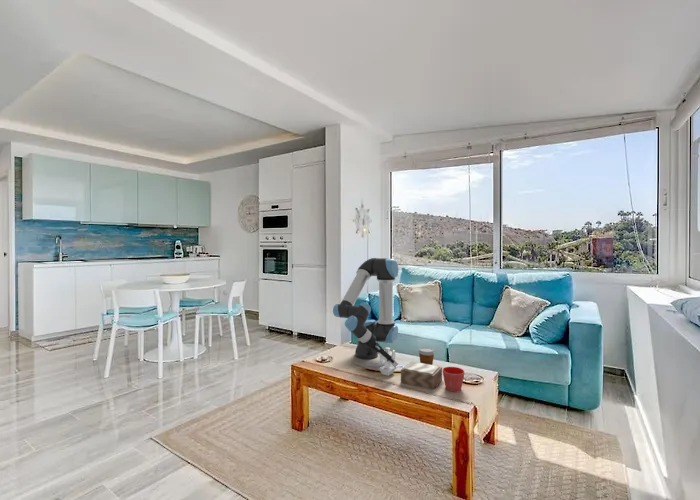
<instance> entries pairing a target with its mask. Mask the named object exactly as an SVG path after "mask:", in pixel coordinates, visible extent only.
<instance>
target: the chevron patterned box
mask: <svg viewBox="0 0 700 500" xmlns="http://www.w3.org/2000/svg"><path fill="white" fill-rule="evenodd" d="M442 381H443V367H442V366H440V365H434V364H433V365H429V364H424V363H420V362H417V361H410V362H409V363H407V364H406V365H405V366H404V367H402V368H401V369H400V383H403V384H407V385H412V386H415V387H416V386H417V387H421V388H426V389H430V390H435V389H436V387H437V386H438V385H439V384H440V383H441V382H442Z"/></svg>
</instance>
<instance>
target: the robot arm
mask: <svg viewBox="0 0 700 500" xmlns="http://www.w3.org/2000/svg"><path fill="white" fill-rule="evenodd" d="M355 273H356V275H355V276H354V278H353V280H352V282H351V283H350V286H349V287H348V290H347V292H346V293H345V295H344V296H343V298H342V300H341V302H339V303H337V304H335V305H333V308H332V313H333V315H334V317H336V318H342V319H343V318H344V319H346V320H345V321H344V327H346V329H347V330H348V331H349V332H350V333H351V334H352V335H353V336H354V337H355V338H357V345H356V347H355V351H354V356H355V357H356V358H359V359H362V360H363V359H364V360H365V359H366V360H367V359H369V360H370V359H375V358H377V357H378V355H379V356H380V354H382V355H383V356H384V357H385V358H386V359H387V362H388V361H389V362H390V365H391V366H393V367H396V368H397V367H398V365H399V363H398V362H397V361H396V360H395V359H393V358H392V356H390V355H389V354H388V353H387V352H386V351H385V348H383V347H382V346H381V345H380V344H379V343H384V344H393V343H395V341H396V340H397V339H398V338H397V337H398V335H399V327H398V326H397V324H396V323H395V320H394V319H393V298H394V297H393V285H394V284H393V282H394V281H395V280H396V278H397V277H398V275H399V265H398V262H397V260H395V259H393V258H386V257H384V258H379V257H378V258H377V257H371V258H369V259H366V260H365V261H364V262H363V263H361V264H360V266H358V268H357V270H356V272H355ZM371 277H376V281H377V282H378V300H379V301H378V319H377V321H376V320H375V319H368V318H369V316H370V313H371V312H372V307H371V305H370V304H368V303H366V302H360V304H358V305H356V304H355V303H356V302H357V300H358V298H359V296H360V294H361V292H362V291H363V289H364V287H365V285H366V283H367V281H369V280H370V279H371ZM385 358H383V361H385Z"/></svg>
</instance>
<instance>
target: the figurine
mask: <svg viewBox="0 0 700 500" xmlns="http://www.w3.org/2000/svg"><path fill="white" fill-rule="evenodd" d="M384 350H385V351H386V352H387V353H388V354H389V355H390V356H392V358H393V359H394V360H395V359H396V350H395V349H393V350H391V347H385V348H384ZM383 358H385V357H384V356H383V355H382V354H380V355H379V362H380V363H383V362H384V365H382V366H379V367H378V370H379V371H380V373H381V375H385V376H391V375H393V374H394V372H395V370H396V369H397V366H396V367H394V366H393V365H391V363H390V362H389V361H388V362H387V359H386V358H385V360H384V359H383Z"/></svg>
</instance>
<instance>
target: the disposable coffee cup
mask: <svg viewBox="0 0 700 500" xmlns="http://www.w3.org/2000/svg"><path fill="white" fill-rule="evenodd" d="M435 353H436V352H435V349H434V348H432V347H419V348H418V354H419V355H418V356H419V363H424V364H429V365H434V363H433V362H434V356H435Z"/></svg>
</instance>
